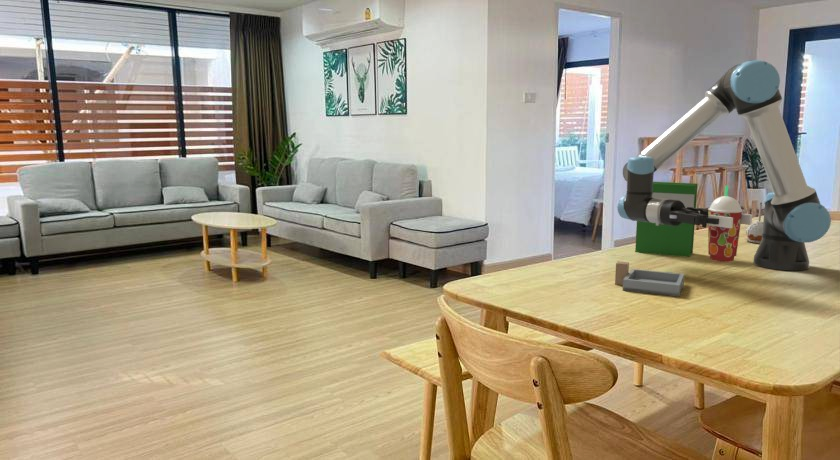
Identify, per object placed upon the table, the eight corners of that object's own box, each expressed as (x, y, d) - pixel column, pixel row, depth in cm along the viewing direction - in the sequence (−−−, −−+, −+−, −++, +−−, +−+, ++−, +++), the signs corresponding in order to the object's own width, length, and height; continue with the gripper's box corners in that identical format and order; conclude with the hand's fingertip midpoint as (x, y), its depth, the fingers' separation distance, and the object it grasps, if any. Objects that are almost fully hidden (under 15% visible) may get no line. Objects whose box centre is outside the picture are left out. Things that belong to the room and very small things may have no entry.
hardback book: (692, 253, 220) (697, 183, 216) (690, 257, 213) (695, 185, 209) (639, 248, 228) (643, 181, 224) (635, 252, 222) (639, 183, 218)
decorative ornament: (765, 241, 242) (769, 201, 240) (771, 244, 235) (775, 204, 232) (743, 240, 244) (746, 201, 242) (748, 243, 237) (752, 203, 234)
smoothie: (736, 257, 176) (741, 184, 172) (741, 263, 168) (746, 187, 165) (703, 255, 178) (708, 184, 175) (706, 261, 171) (711, 187, 167)
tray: (683, 284, 178) (685, 263, 177) (678, 296, 165) (680, 274, 164) (620, 277, 185) (621, 257, 184) (611, 289, 173) (612, 267, 172)
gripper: (687, 221, 192) (762, 231, 174) (642, 228, 181) (717, 239, 162) (689, 196, 191) (764, 203, 172) (643, 202, 180) (719, 210, 161)
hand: (741, 221), depth 167 cm, fingers closed on smoothie, 8 cm apart
